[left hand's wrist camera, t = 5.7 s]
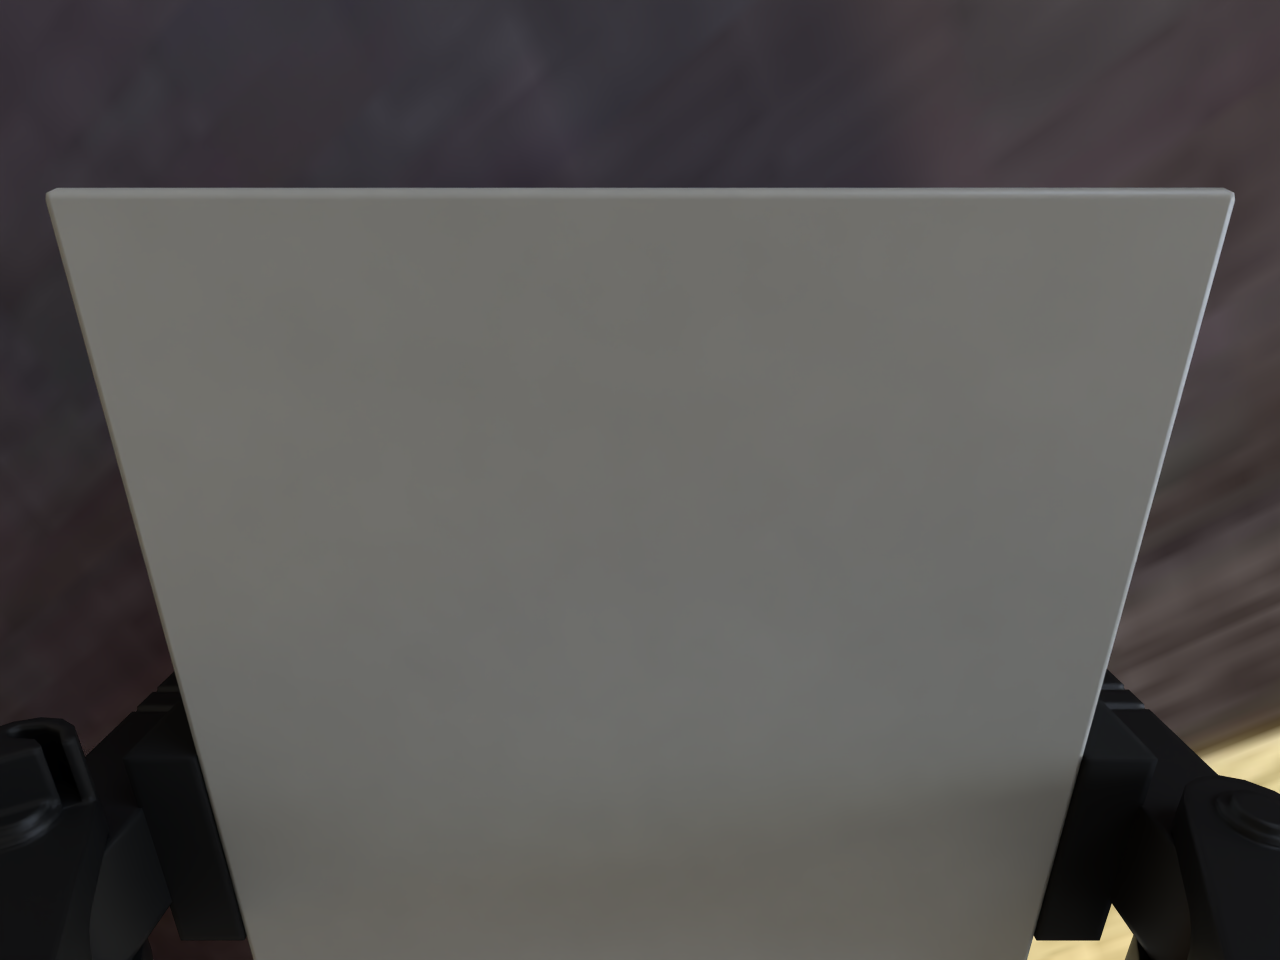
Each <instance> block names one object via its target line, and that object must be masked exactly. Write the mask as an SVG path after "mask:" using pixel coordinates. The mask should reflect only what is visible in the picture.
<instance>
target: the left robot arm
mask: <svg viewBox="0 0 1280 960" xmlns="http://www.w3.org/2000/svg"><path fill="white" fill-rule="evenodd" d="M137 708H138V709H137V711H136V712H131V713H130V714H129V715H128V716H127V717H126V718H125V719H124V720H123V721H122V722H121V723H120V724H119V725H118V726H117V727H116V728H115V729H114V730H113V731H112V732H111V733H110V734H109V735H107V736H106V737H105V738H104V739H103V740H102V741H101V742H100V743H99V744H98V745H97V746H96V747H95V748H94V749H93V750H92V751H91V752H90V753H89V754H88V755H87V756H86V757H85V756H84V753H83V750H82V747H81V744H80V741H79V738H78V735H77V732H76V729H75V727H74V726H73V725H72V724H70V723H68V722H67V721H65V720H63V719H57V718H43V717H40V718H34V719H28V720H22V721H16V722H11V723H8V724H5V725H2V726H0V960H153V956H152V950H151V947H150V944H149V941H148V936H149V935H150V933H151V932H152V930H153V929H154V927H155V926H156V924H157V923H158V922H159V920H160V919H161V917H162V916H163V914H164V913H165V911H166V910H167V909H168V907H169V906H170V908H171V911H172V914H173V917H174V920H175V923H176V927H177V930H178V933H179V936H180V939H181V940H245V938H246V936H247V934H246V931H245V927H244V923H243V920H242V916H241V912H240V909H239V905H238V902H237V898H236V894H235V891H234V887H233V883H232V880H231V876H230V872H229V869H228V865H227V861H226V858H225V854H224V850H223V847H222V843H221V839H220V836H219V832H218V828H217V825H216V821H215V817H214V814H213V810H212V807H211V803H210V799H209V796H208V792H207V788H206V785H205V781H204V777H203V774H202V770H201V766H200V763H199V759H198V755H197V752H196V748H195V744H194V741H193V737H192V733H191V730H190V726H189V722H188V719H187V715H186V712H185V708H184V704H183V701H182V697H181V693H180V690H179V686H178V682H177V679H176V675H175V671H174V672H173V673H172V674H171V675H170V676H169V677H168V678H167V679H166V680H165V681H164V682H163V683H162V684H161V685H160V686H159V687H158V690H157V692H152V693H151V694H150V695H149V696H148V697H147V698H146V699H145V700H144V701H143V702H142V703H141V704H140V705H139V706H138V707H137ZM1111 904H1113V906H1114V907H1115V908H1116V910H1117V911H1118V913H1119V914H1120V916H1121V917H1122V918H1123V920H1124V921H1125V923H1126V924H1127V926H1128V927H1129V929H1130V930H1131V931H1132V933H1133V934H1134V935H1133V938H1132V941H1131V944H1130V947H1129V949H1128V952H1127V955H1126V958H1125V960H1280V794H1279V793H1277V792H1275V791H1273V790H1270V789H1267V788H1265V787H1262V786H1259V785H1257V784H1254V783H1251V782H1249V781H1246V780H1242V779H1236V778H1231V777H1225V776H1220V775H1218V774H1217V773H1216V772H1214V771H1213V770H1212V769H1211V768H1210V767H1209V766H1208V765H1207V764H1206V763H1205V762H1204V761H1203V760H1202V759H1201V758H1200V757H1199V756H1198V755H1197V754H1196V753H1195V752H1193V751H1192V750H1191V749H1190V748H1189V747H1188V746H1187V745H1186V744H1185V743H1184V742H1183V741H1182V740H1181V739H1180V738H1179V737H1178V736H1177V735H1176V734H1175V733H1174V732H1172V731H1171V730H1170V729H1169V728H1168V727H1167V726H1166V725H1165V724H1164V723H1163V722H1162V721H1161V720H1160V719H1159V718H1158V717H1157V716H1156V715H1155V714H1154V713H1153V712H1151V711H1150V710H1149V709H1145V708H1144V704H1143V703H1142V702H1141V701H1140V700H1139V699H1138V698H1137V697H1136V696H1135V695H1134V694H1133V693H1132V692H1130V691H1129V690H1125V689H1124V685H1123V684H1122V683H1121V682H1120V681H1119V680H1118V679H1117V678H1116V677H1115V676H1114V675H1113V674H1112V673H1111V672H1109V671H1108V670H1107V669H1106V673H1105V676H1104V680H1103V684H1102V687H1101V691H1100V695H1099V698H1098V702H1097V706H1096V709H1095V713H1094V716H1093V720H1092V724H1091V727H1090V731H1089V735H1088V738H1087V742H1086V746H1085V749H1084V753H1083V757H1082V760H1081V764H1080V768H1079V771H1078V775H1077V779H1076V782H1075V786H1074V790H1073V793H1072V797H1071V800H1070V804H1069V808H1068V811H1067V815H1066V819H1065V822H1064V826H1063V830H1062V833H1061V837H1060V841H1059V844H1058V848H1057V852H1056V855H1055V859H1054V863H1053V866H1052V870H1051V873H1050V877H1049V881H1048V884H1047V888H1046V892H1045V895H1044V899H1043V903H1042V906H1041V910H1040V914H1039V917H1038V921H1037V925H1036V928H1035V932H1034V937H1035V939H1036V940H1100V938H1101V935H1102V932H1103V929H1104V926H1105V922H1106V919H1107V916H1108V913H1109V910H1110V907H1111Z"/></svg>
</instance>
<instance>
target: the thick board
mask: <svg viewBox="0 0 1280 960" xmlns="http://www.w3.org/2000/svg"><path fill="white" fill-rule="evenodd" d="M1234 202H1235V196H1234V193H1233V192H1231V191H1229V190H1227V189H1225V188H56V189H53V190H51V191H49V192H47V193H46V204H47V207H48V211H49V215H50V218H51V222H52V226H53V229H54V233H55V237H56V240H57V244H58V248H59V251H60V255H61V259H62V262H63V266H64V269H65V273H66V277H67V280H68V284H69V288H70V291H71V295H72V299H73V302H74V306H75V310H76V313H77V317H78V321H79V324H80V328H81V332H82V335H83V339H84V343H85V346H86V350H87V354H88V357H89V361H90V364H91V368H92V372H93V375H94V379H95V383H96V386H97V390H98V394H99V397H100V401H101V405H102V408H103V412H104V416H105V419H106V423H107V427H108V430H109V434H110V438H111V441H112V445H113V448H114V452H115V456H116V459H117V463H118V467H119V470H120V474H121V478H122V481H123V485H124V489H125V492H126V496H127V500H128V503H129V507H130V511H131V514H132V518H133V522H134V525H135V529H136V533H137V536H138V540H139V543H140V547H141V551H142V554H143V558H144V562H145V565H146V569H147V573H148V576H149V580H150V584H151V587H152V591H153V595H154V598H155V602H156V606H157V609H158V613H159V617H160V620H161V624H162V628H163V631H164V635H165V638H166V642H167V646H168V649H169V653H170V657H171V660H172V664H173V668H174V671H175V675H176V679H177V682H178V686H179V690H180V693H181V697H182V701H183V704H184V708H185V712H186V715H187V719H188V722H189V726H190V730H191V733H192V737H193V741H194V744H195V748H196V752H197V755H198V759H199V763H200V766H201V770H202V774H203V777H204V781H205V785H206V788H207V792H208V796H209V799H210V803H211V807H212V810H213V814H214V817H215V821H216V825H217V828H218V832H219V836H220V839H221V843H222V847H223V850H224V854H225V858H226V861H227V865H228V869H229V872H230V876H231V880H232V883H233V887H234V891H235V894H236V898H237V902H238V905H239V909H240V912H241V916H242V920H243V923H244V927H245V931H246V934H247V938H248V942H249V945H250V949H251V953H252V956H253V960H1027V957H1028V954H1029V950H1030V946H1031V943H1032V939H1033V936H1034V932H1035V928H1036V925H1037V921H1038V917H1039V914H1040V910H1041V906H1042V903H1043V899H1044V895H1045V892H1046V888H1047V884H1048V881H1049V877H1050V873H1051V870H1052V866H1053V863H1054V859H1055V855H1056V852H1057V848H1058V844H1059V841H1060V837H1061V833H1062V830H1063V826H1064V822H1065V819H1066V815H1067V811H1068V808H1069V804H1070V800H1071V797H1072V793H1073V790H1074V786H1075V782H1076V779H1077V775H1078V771H1079V768H1080V764H1081V760H1082V757H1083V753H1084V749H1085V746H1086V742H1087V738H1088V735H1089V731H1090V727H1091V724H1092V720H1093V716H1094V713H1095V709H1096V706H1097V702H1098V698H1099V695H1100V691H1101V687H1102V684H1103V680H1104V676H1105V673H1106V669H1107V665H1108V662H1109V658H1110V654H1111V651H1112V647H1113V643H1114V640H1115V636H1116V633H1117V629H1118V625H1119V622H1120V618H1121V614H1122V611H1123V607H1124V603H1125V600H1126V596H1127V592H1128V589H1129V585H1130V581H1131V578H1132V574H1133V570H1134V567H1135V563H1136V560H1137V556H1138V552H1139V549H1140V545H1141V541H1142V538H1143V534H1144V530H1145V527H1146V523H1147V519H1148V516H1149V512H1150V508H1151V505H1152V501H1153V497H1154V494H1155V490H1156V487H1157V483H1158V479H1159V476H1160V472H1161V468H1162V465H1163V461H1164V457H1165V454H1166V450H1167V446H1168V443H1169V439H1170V435H1171V432H1172V428H1173V424H1174V421H1175V417H1176V413H1177V410H1178V406H1179V403H1180V399H1181V395H1182V392H1183V388H1184V384H1185V381H1186V377H1187V373H1188V370H1189V366H1190V362H1191V359H1192V355H1193V351H1194V348H1195V344H1196V340H1197V337H1198V333H1199V330H1200V326H1201V322H1202V319H1203V315H1204V311H1205V308H1206V304H1207V300H1208V297H1209V293H1210V289H1211V286H1212V282H1213V278H1214V275H1215V271H1216V267H1217V264H1218V260H1219V257H1220V253H1221V249H1222V246H1223V242H1224V238H1225V235H1226V231H1227V227H1228V224H1229V220H1230V216H1231V213H1232V209H1233V205H1234Z"/></svg>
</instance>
